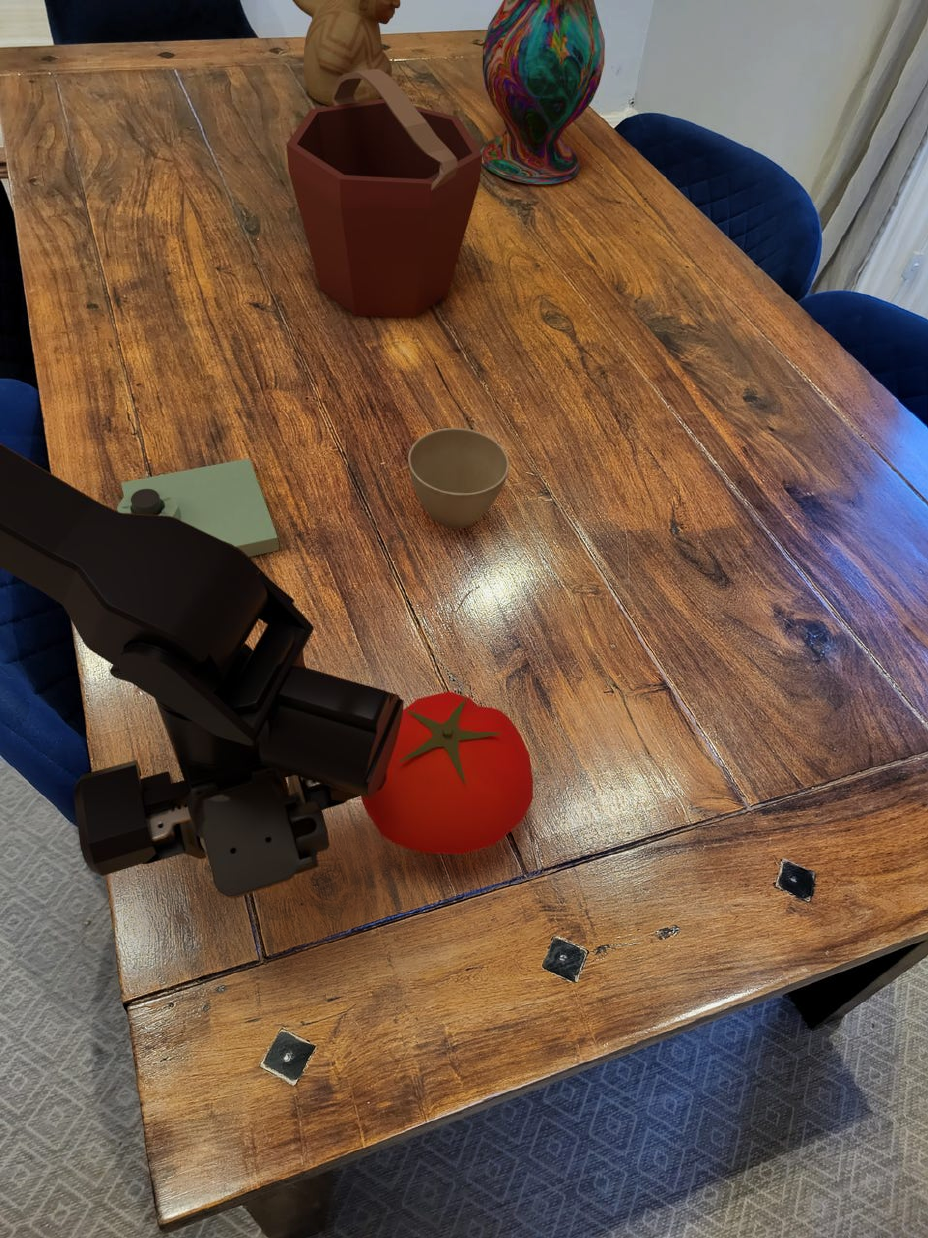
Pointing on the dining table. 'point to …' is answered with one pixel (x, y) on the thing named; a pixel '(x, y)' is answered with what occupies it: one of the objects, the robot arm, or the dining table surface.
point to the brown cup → (457, 474)
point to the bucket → (383, 197)
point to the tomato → (453, 778)
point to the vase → (540, 84)
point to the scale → (214, 503)
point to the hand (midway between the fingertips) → (249, 837)
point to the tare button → (146, 502)
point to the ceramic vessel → (344, 44)
